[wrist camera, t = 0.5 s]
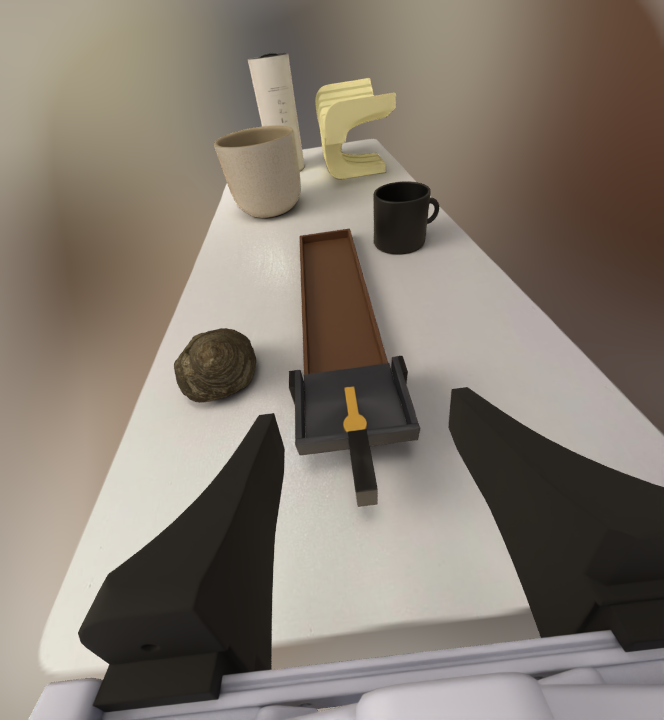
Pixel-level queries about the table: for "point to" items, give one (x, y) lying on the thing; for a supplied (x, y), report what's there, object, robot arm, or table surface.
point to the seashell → (215, 365)
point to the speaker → (276, 94)
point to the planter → (261, 169)
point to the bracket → (292, 373)
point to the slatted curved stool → (349, 124)
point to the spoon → (353, 413)
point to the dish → (373, 404)
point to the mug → (402, 216)
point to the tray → (336, 306)
